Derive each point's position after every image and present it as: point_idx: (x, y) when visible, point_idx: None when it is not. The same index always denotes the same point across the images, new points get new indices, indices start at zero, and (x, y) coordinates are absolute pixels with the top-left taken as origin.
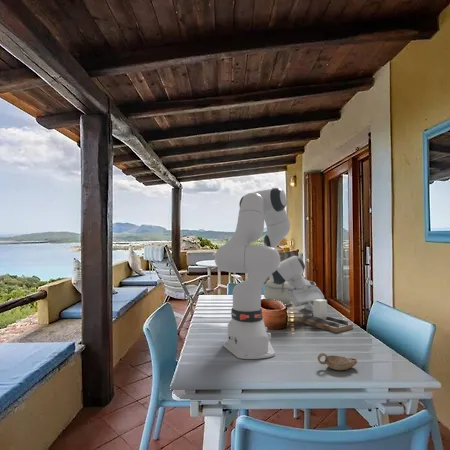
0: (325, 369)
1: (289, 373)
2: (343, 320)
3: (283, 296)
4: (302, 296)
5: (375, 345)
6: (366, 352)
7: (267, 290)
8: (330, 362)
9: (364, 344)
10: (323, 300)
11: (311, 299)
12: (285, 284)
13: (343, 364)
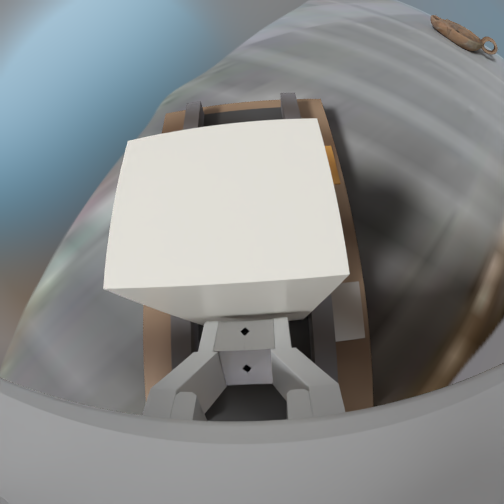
0: (480, 54)
1: None
2: (198, 116)
3: None
4: (482, 481)
5: (294, 25)
6: (360, 24)
7: None
8: (478, 38)
9: (319, 35)
10: (197, 140)
11: (244, 436)
12: None
13: (461, 26)
